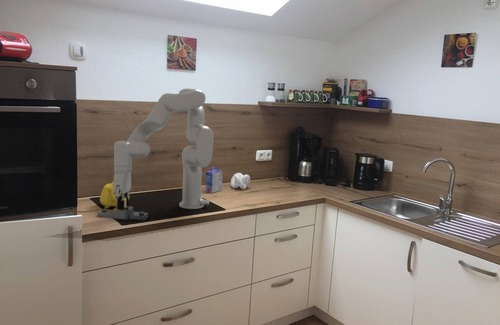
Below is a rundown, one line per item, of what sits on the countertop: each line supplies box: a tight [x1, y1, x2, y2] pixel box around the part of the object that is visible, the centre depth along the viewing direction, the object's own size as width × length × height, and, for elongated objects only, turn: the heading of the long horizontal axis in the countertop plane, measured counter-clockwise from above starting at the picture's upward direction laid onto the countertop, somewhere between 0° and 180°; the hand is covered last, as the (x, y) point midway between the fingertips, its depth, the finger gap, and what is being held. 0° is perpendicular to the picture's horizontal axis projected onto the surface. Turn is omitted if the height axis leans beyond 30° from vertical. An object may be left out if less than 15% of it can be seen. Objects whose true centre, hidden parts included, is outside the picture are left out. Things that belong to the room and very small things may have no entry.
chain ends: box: [96, 205, 149, 221], centre depth 193 cm, size 22×7×4 cm, turn 84°
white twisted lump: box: [230, 172, 251, 191], centre depth 258 cm, size 11×12×9 cm
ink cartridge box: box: [205, 166, 223, 194], centre depth 248 cm, size 10×6×14 cm, turn 148°
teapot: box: [99, 181, 130, 209], centre depth 207 cm, size 13×20×12 cm
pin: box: [120, 195, 126, 210], centre depth 192 cm, size 3×3×10 cm
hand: (122, 206), depth 192 cm, fingers open, 4 cm apart
